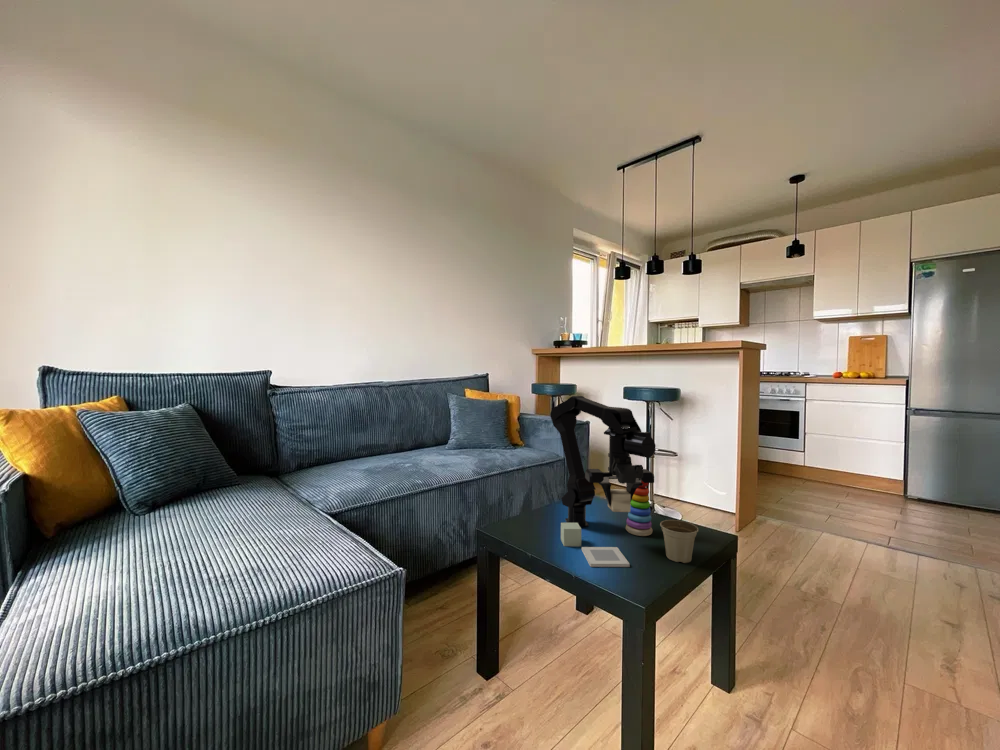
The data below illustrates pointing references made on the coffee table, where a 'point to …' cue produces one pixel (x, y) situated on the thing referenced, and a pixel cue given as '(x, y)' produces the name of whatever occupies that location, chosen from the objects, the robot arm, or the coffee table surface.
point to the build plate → (605, 557)
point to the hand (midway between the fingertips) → (618, 505)
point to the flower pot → (679, 539)
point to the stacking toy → (640, 513)
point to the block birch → (620, 500)
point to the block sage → (571, 534)
